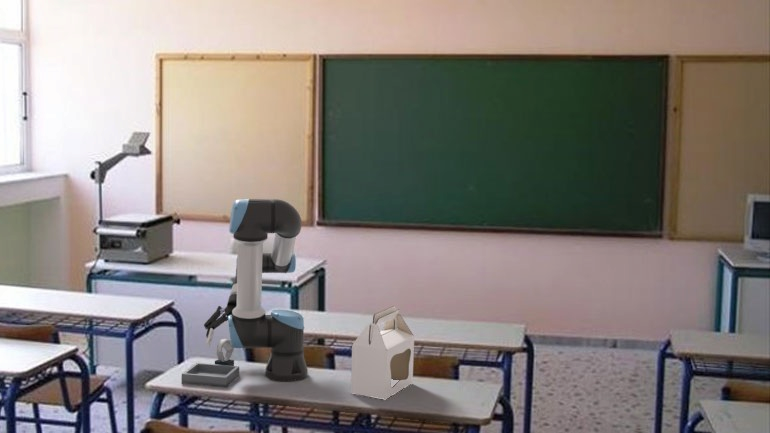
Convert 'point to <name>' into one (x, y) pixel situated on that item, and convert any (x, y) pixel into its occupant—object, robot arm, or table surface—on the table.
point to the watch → (229, 349)
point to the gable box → (382, 356)
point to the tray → (210, 375)
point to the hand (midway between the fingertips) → (225, 346)
